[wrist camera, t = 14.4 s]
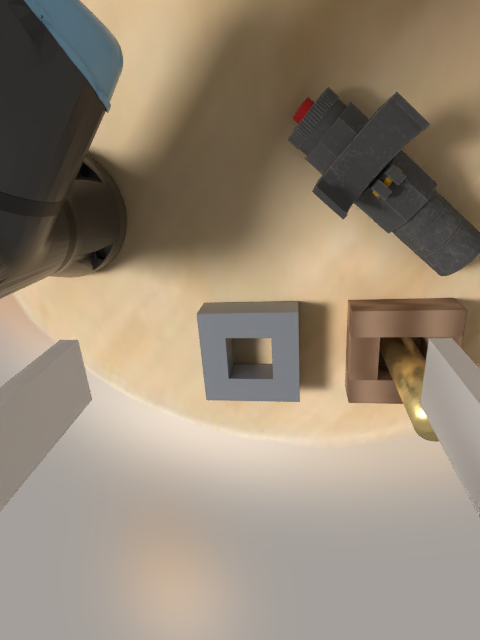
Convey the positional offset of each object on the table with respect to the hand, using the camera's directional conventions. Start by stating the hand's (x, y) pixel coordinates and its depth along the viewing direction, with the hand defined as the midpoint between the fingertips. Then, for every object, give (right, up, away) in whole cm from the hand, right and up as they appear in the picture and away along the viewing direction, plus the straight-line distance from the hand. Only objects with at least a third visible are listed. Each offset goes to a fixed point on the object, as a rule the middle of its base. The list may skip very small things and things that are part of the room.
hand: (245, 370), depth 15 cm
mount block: (+2, -1, +37) cm, 37 cm away
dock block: (+19, -1, +34) cm, 39 cm away
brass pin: (+19, -1, +34) cm, 39 cm away
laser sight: (+15, +17, +28) cm, 36 cm away
